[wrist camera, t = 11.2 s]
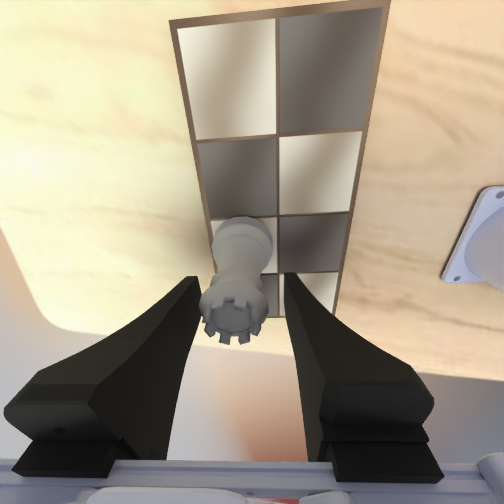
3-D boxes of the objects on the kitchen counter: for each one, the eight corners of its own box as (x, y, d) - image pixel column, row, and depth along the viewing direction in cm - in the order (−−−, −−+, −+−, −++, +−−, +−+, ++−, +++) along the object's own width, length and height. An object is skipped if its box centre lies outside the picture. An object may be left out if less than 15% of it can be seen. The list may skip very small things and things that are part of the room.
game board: (382, 5, 10) (394, -7, 9) (332, 309, 20) (335, 317, 19) (174, 27, 11) (167, 18, 10) (225, 313, 21) (223, 320, 20)
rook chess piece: (278, 260, 16) (292, 350, 10) (225, 271, 17) (202, 364, 10) (265, 206, 14) (271, 273, 7) (205, 222, 15) (160, 296, 8)
